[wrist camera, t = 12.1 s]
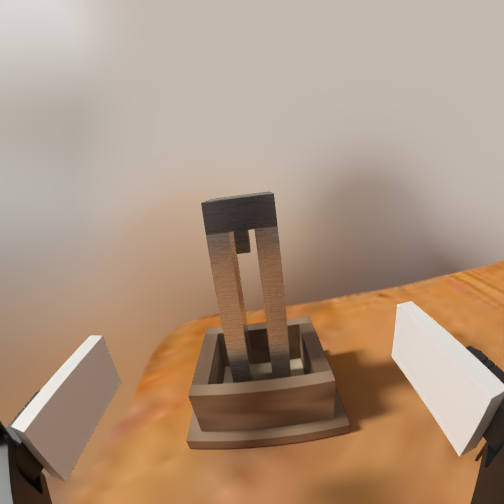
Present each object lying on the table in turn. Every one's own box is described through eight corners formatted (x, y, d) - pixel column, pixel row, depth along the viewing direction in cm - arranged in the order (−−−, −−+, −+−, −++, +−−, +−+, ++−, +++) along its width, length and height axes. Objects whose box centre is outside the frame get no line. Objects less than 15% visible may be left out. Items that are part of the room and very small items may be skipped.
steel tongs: (287, 370, 25) (269, 191, 21) (294, 410, 19) (275, 194, 16) (240, 375, 25) (210, 199, 21) (238, 416, 19) (197, 204, 16)
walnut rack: (318, 351, 29) (317, 310, 27) (348, 432, 17) (354, 386, 16) (207, 363, 29) (198, 324, 28) (190, 448, 17) (170, 405, 16)
